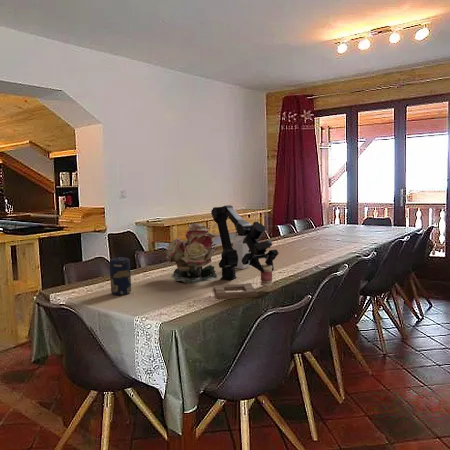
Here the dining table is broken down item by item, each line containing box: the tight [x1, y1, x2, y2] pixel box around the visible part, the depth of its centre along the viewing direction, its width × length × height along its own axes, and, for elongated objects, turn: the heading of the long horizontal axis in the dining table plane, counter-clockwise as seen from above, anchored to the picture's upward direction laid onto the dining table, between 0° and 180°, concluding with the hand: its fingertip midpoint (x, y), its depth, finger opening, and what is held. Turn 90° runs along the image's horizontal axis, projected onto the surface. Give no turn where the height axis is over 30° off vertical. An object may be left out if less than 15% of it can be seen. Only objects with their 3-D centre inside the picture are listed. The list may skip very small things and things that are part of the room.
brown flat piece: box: [213, 282, 259, 300], centre depth 208 cm, size 20×18×2 cm
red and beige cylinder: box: [260, 264, 274, 287], centre depth 208 cm, size 6×6×9 cm
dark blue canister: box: [108, 256, 132, 296], centre depth 211 cm, size 10×10×18 cm
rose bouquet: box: [164, 222, 218, 285], centre depth 239 cm, size 26×29×30 cm
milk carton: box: [232, 235, 251, 270], centre depth 264 cm, size 7×7×19 cm
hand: (268, 271), depth 207 cm, fingers closed on red and beige cylinder, 5 cm apart
